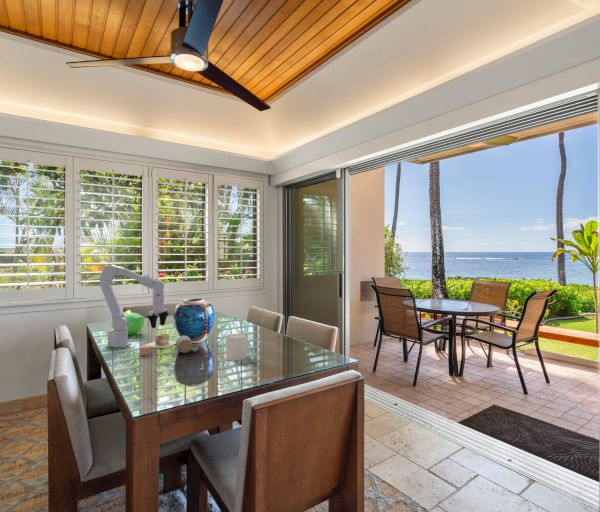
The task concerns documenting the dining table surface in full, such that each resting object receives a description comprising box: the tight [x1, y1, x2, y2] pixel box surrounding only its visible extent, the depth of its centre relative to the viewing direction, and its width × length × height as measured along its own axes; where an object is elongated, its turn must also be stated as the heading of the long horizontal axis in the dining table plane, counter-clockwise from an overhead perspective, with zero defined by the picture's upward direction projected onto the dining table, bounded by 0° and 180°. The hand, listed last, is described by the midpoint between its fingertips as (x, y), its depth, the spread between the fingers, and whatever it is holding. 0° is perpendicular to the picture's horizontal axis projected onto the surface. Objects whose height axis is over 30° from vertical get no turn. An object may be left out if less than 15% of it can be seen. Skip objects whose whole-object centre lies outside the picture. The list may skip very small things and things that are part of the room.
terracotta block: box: [139, 345, 152, 357], centre depth 180 cm, size 4×4×4 cm
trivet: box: [142, 340, 176, 350], centre depth 200 cm, size 14×14×1 cm
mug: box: [225, 333, 248, 362], centre depth 178 cm, size 14×10×11 cm
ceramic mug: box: [175, 335, 199, 354], centre depth 187 cm, size 11×8×8 cm
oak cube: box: [154, 333, 170, 345], centre depth 199 cm, size 5×5×5 cm
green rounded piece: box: [111, 309, 146, 336], centre depth 222 cm, size 18×17×15 cm
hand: (158, 326), depth 203 cm, fingers open, 7 cm apart
